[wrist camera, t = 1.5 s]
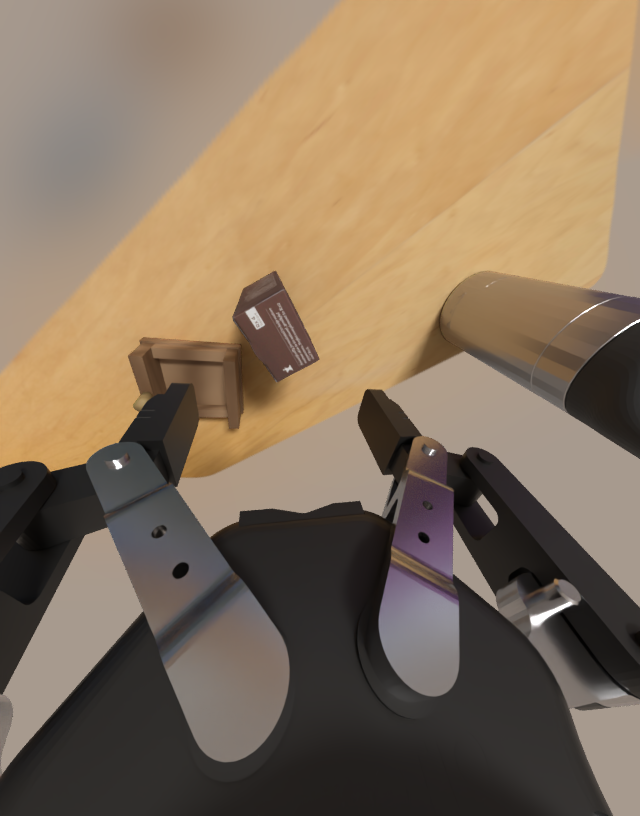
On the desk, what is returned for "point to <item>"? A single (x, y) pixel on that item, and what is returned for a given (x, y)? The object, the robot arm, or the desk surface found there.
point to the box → (274, 327)
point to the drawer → (192, 374)
